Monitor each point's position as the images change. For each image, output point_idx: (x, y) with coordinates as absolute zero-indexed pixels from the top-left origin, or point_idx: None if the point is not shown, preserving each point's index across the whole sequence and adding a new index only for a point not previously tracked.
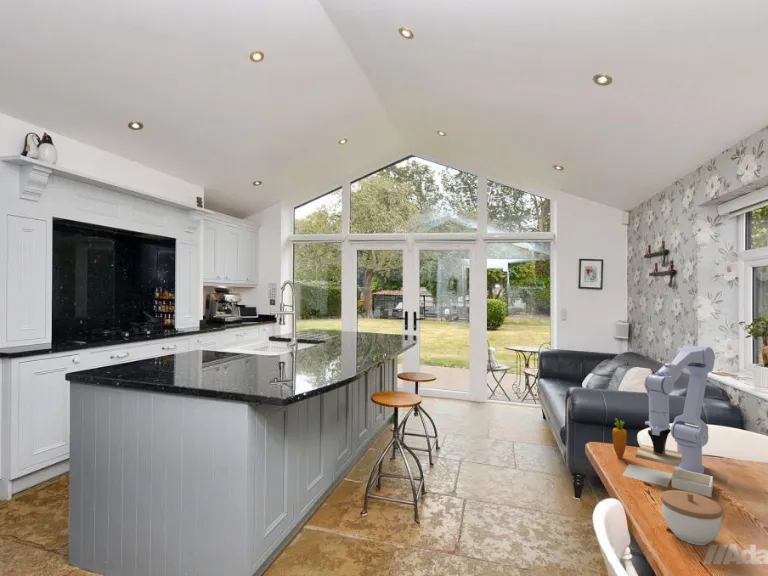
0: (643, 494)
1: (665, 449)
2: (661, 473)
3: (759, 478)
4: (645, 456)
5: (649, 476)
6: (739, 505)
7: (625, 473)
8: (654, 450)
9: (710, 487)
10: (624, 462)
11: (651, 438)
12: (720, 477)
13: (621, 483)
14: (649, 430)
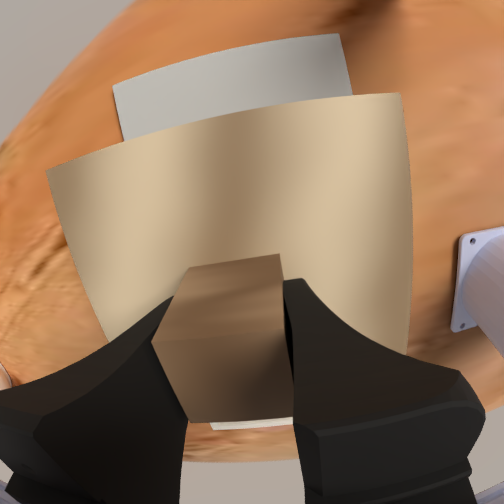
0: (36, 237)
1: (409, 297)
2: None
3: (495, 406)
4: (69, 245)
5: None
6: (241, 438)
7: (155, 80)
8: (164, 301)
9: (213, 427)
10: (357, 5)
11: (57, 378)
12: (460, 364)
13: (50, 130)
14: (12, 442)
